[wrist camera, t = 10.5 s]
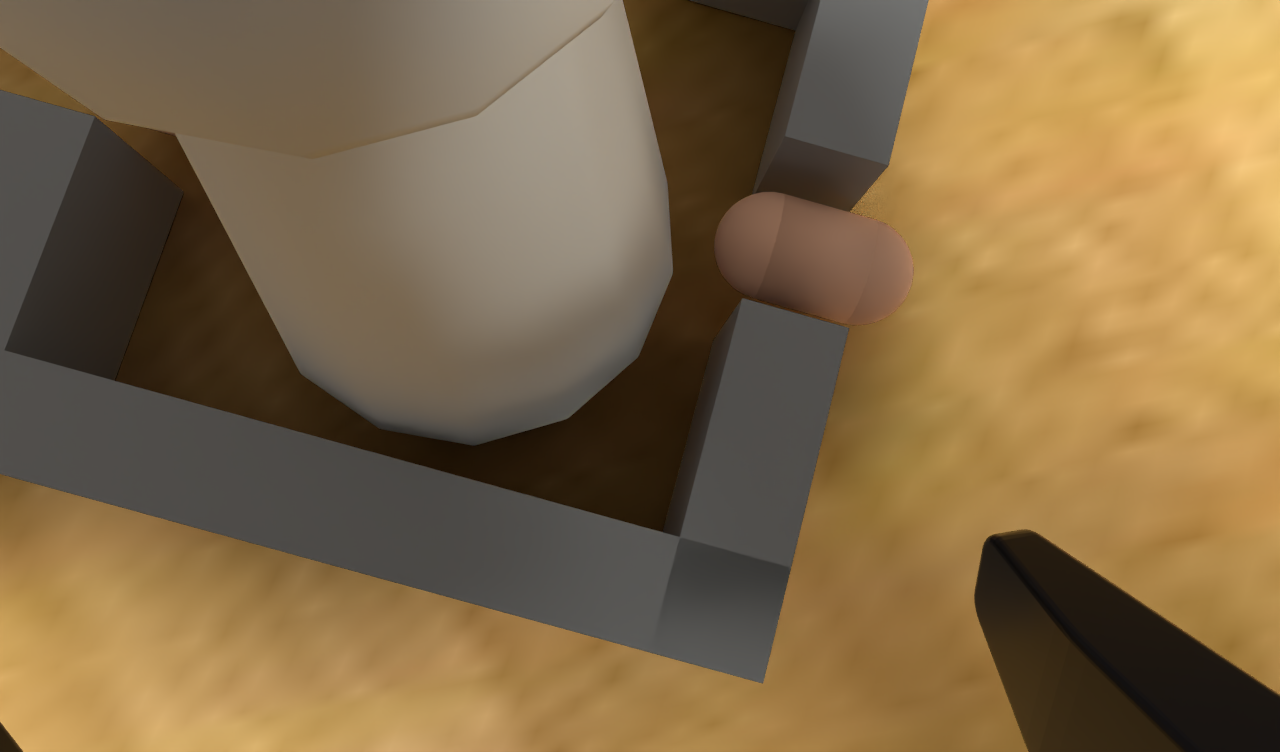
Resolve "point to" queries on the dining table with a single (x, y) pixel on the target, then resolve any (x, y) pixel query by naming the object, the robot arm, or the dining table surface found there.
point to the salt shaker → (404, 184)
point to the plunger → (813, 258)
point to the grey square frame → (417, 495)
